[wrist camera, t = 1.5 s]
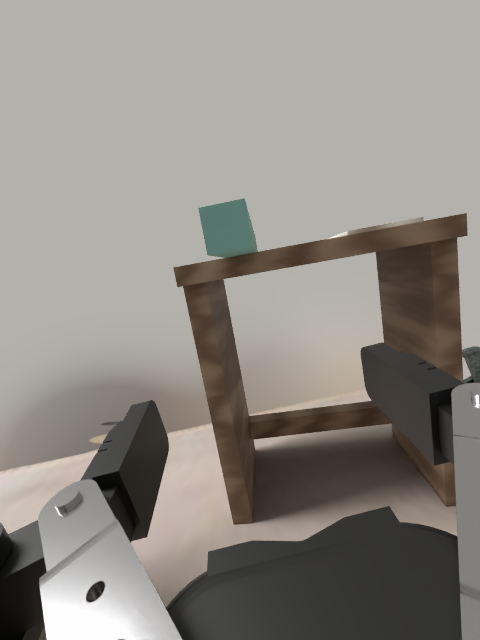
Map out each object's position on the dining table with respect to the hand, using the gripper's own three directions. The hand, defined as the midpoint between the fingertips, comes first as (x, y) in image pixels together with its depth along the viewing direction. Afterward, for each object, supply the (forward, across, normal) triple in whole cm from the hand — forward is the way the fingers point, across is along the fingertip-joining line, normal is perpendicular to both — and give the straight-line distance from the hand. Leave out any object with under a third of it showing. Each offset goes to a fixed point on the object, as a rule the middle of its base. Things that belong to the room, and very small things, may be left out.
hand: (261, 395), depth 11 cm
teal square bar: (+22, -2, -4) cm, 23 cm away
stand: (+24, -7, +29) cm, 38 cm away
